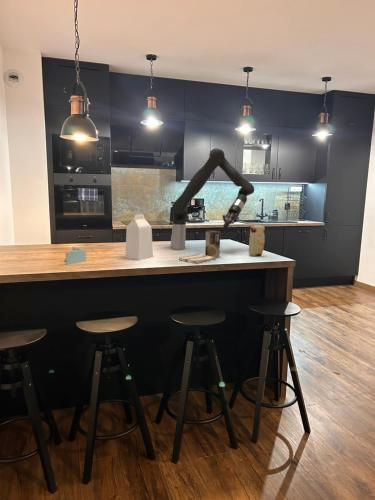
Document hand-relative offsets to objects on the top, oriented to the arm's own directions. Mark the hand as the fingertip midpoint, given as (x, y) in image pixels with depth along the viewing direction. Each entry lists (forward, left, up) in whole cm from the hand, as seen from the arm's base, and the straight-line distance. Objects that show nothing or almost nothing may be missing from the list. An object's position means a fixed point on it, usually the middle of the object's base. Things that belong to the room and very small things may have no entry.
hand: (224, 227), depth 229 cm
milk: (-28, -48, -18) cm, 58 cm away
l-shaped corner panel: (-45, -84, -18) cm, 97 cm away
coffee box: (0, -12, -18) cm, 21 cm away
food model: (+17, +12, -18) cm, 27 cm away
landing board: (0, -26, -18) cm, 32 cm away
